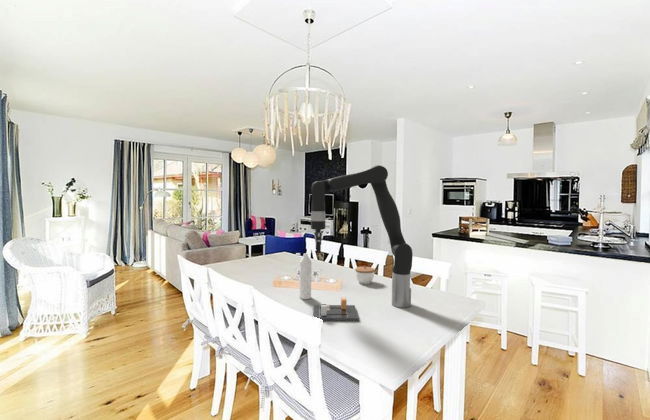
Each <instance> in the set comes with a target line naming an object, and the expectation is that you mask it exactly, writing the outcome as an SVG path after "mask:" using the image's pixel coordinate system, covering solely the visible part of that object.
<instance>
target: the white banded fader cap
mask: <svg viewBox="0 0 650 420" xmlns="http://www.w3.org/2000/svg"><path fill="white" fill-rule="evenodd" d="M320 305H321V316H327V305H328V304H327V303H326V302H321V304H320Z"/></svg>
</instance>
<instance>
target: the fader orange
mask: <svg viewBox="0 0 650 420" xmlns="http://www.w3.org/2000/svg"><path fill="white" fill-rule="evenodd" d="M347 302H348V301H347V297H344V296H343V297H340V305H341V309H346V306H347V305H348V303H347Z"/></svg>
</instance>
